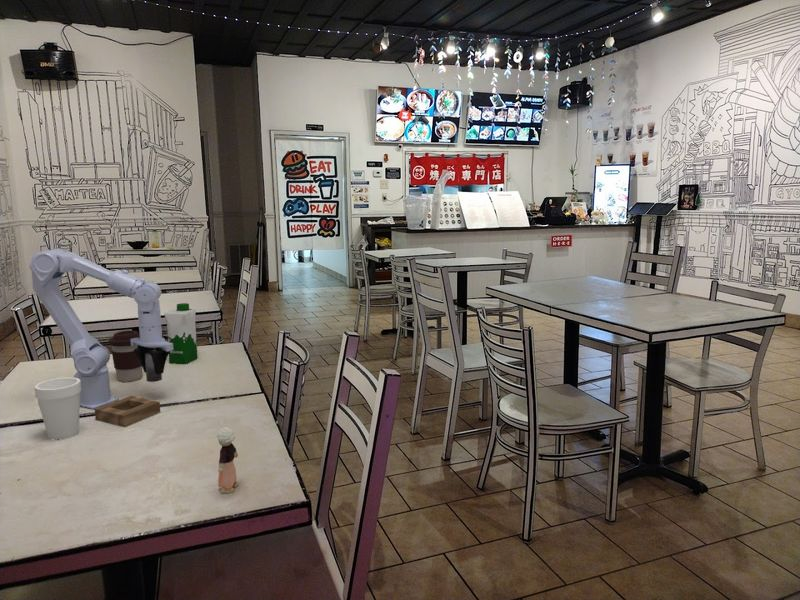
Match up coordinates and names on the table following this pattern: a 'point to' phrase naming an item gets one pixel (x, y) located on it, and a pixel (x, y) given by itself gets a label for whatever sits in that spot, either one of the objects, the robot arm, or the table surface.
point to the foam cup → (60, 406)
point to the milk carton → (182, 334)
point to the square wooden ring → (127, 411)
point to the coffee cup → (125, 356)
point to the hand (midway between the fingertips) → (153, 372)
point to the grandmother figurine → (227, 461)
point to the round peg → (151, 369)
